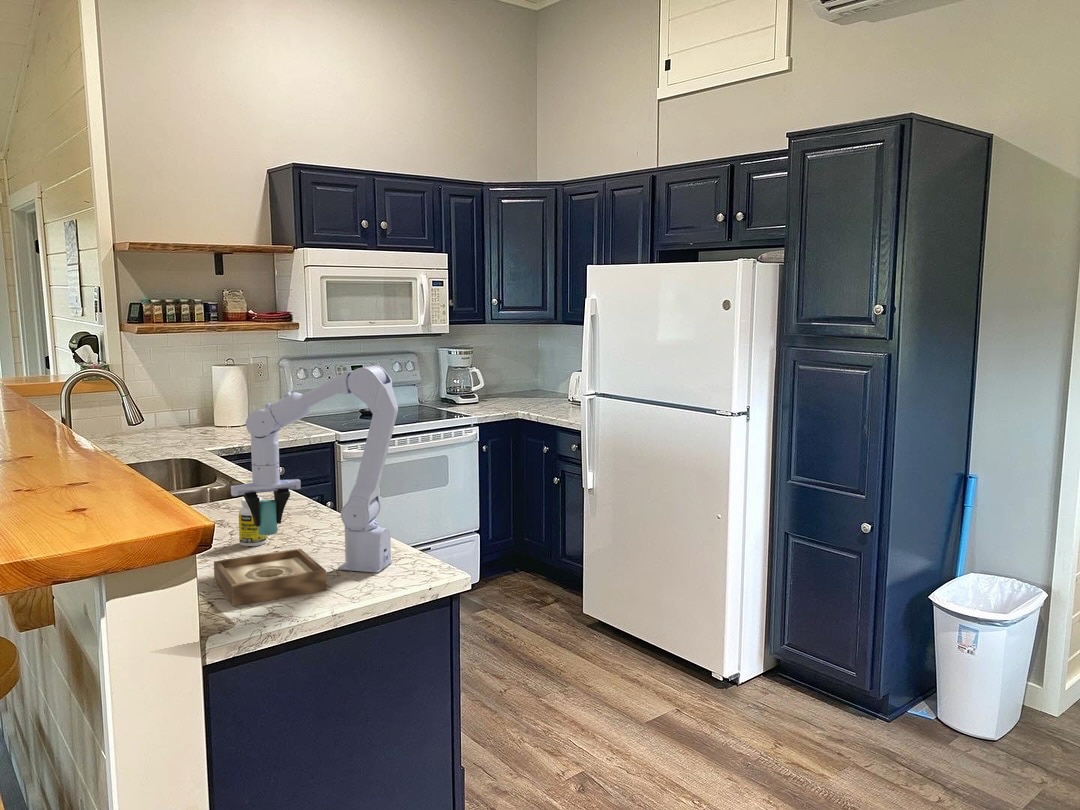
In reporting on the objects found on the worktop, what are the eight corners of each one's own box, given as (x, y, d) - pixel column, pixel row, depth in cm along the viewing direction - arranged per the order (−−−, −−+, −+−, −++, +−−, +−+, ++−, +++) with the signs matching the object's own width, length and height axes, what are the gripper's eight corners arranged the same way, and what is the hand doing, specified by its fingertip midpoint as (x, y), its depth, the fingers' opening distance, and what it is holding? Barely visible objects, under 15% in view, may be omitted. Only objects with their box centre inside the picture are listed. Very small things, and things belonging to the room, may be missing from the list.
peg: (280, 530, 183) (279, 500, 182) (271, 535, 179) (270, 504, 179) (264, 529, 184) (263, 499, 183) (254, 534, 180) (253, 503, 179)
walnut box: (301, 566, 181) (300, 548, 180) (326, 589, 165) (326, 570, 165) (214, 580, 171) (213, 561, 171) (233, 606, 156) (232, 586, 155)
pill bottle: (238, 548, 194) (236, 502, 193) (240, 541, 200) (238, 496, 199) (266, 546, 196) (264, 500, 194) (267, 539, 202) (266, 495, 200)
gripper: (293, 457, 187) (295, 516, 189) (227, 463, 179) (229, 524, 181) (302, 462, 181) (304, 522, 183) (234, 469, 174) (236, 531, 175)
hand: (267, 524), depth 182 cm, fingers closed on peg, 4 cm apart
